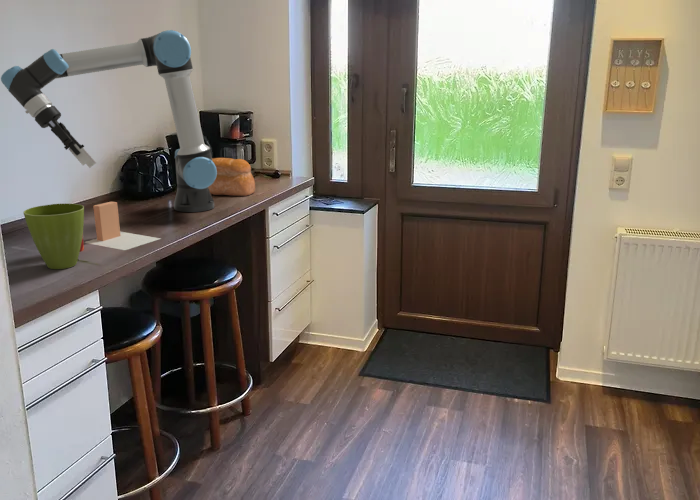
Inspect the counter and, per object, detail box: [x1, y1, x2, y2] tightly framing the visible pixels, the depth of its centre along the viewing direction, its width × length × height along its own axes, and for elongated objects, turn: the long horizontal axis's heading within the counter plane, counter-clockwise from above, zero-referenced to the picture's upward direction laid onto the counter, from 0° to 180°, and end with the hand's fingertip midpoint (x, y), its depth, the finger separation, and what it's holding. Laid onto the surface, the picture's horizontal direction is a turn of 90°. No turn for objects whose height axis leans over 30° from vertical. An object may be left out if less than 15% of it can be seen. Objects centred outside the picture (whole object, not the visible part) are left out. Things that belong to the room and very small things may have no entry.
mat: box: [83, 231, 162, 251], centre depth 201 cm, size 15×18×1 cm
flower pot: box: [23, 203, 85, 270], centre depth 175 cm, size 15×15×16 cm
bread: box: [209, 157, 256, 197], centre depth 275 cm, size 14×26×15 cm, turn 76°
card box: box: [92, 201, 121, 241], centre depth 202 cm, size 7×3×11 cm, turn 151°
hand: (89, 164), depth 210 cm, fingers open, 13 cm apart
